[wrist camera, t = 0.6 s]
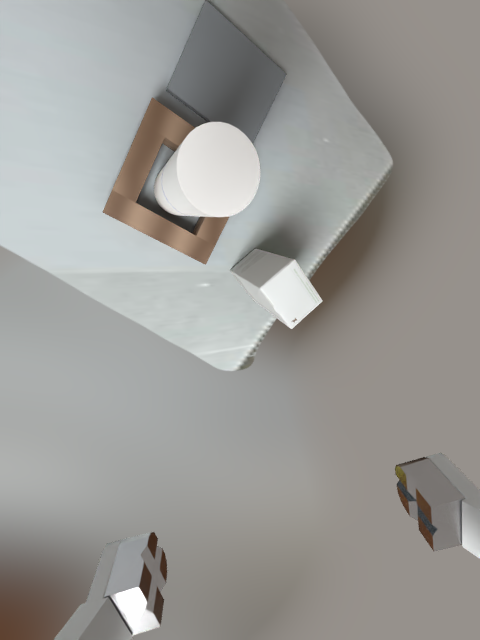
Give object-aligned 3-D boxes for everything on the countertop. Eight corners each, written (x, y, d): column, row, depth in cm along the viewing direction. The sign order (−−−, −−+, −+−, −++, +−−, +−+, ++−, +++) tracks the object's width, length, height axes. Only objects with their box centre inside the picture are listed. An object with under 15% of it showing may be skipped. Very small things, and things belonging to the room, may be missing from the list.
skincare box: (279, 281, 58) (326, 302, 44) (252, 304, 58) (292, 332, 44) (254, 245, 55) (297, 256, 41) (226, 270, 54) (259, 289, 40)
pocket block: (104, 212, 46) (102, 212, 42) (150, 106, 43) (152, 97, 40) (200, 261, 52) (205, 264, 49) (244, 172, 50) (252, 168, 47)
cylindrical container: (145, 175, 46) (161, 138, 23) (189, 158, 47) (244, 109, 25) (166, 222, 49) (197, 230, 26) (207, 205, 50) (270, 199, 28)
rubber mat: (166, 90, 43) (166, 88, 43) (204, 3, 42) (205, -1, 41) (247, 150, 49) (249, 149, 48) (283, 76, 48) (286, 74, 47)
